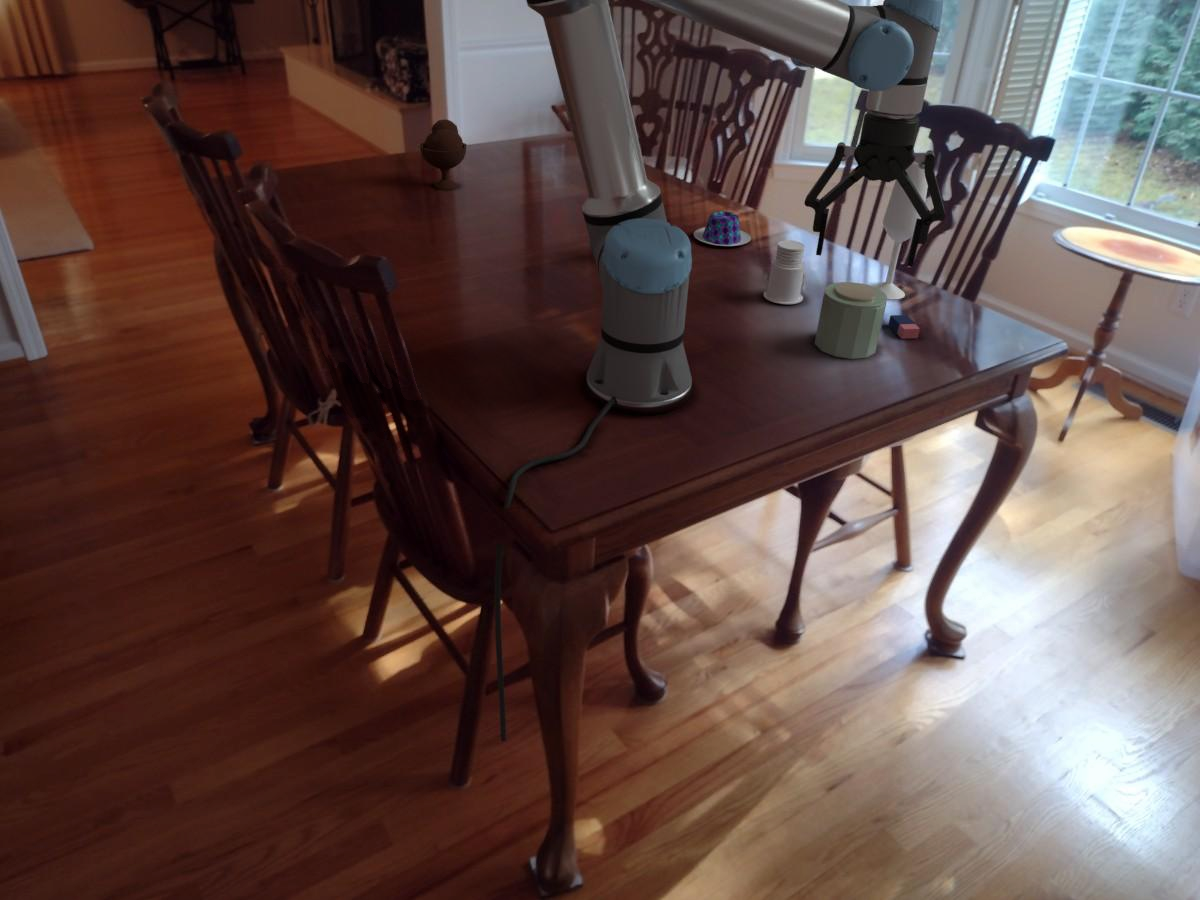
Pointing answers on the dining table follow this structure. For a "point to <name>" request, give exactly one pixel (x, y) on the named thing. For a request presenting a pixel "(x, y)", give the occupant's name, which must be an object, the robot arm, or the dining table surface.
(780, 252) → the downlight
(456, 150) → the ice cream bowl
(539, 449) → the dining table surface
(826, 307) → the green canister
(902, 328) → the eraser
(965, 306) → the dining table surface
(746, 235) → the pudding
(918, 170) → the champagne flute
